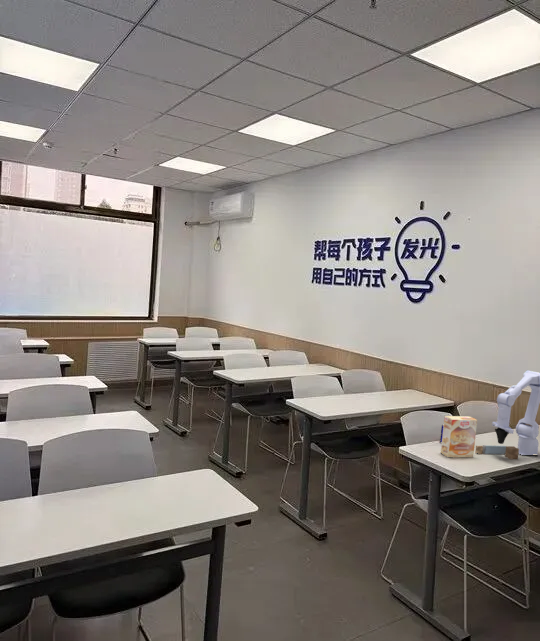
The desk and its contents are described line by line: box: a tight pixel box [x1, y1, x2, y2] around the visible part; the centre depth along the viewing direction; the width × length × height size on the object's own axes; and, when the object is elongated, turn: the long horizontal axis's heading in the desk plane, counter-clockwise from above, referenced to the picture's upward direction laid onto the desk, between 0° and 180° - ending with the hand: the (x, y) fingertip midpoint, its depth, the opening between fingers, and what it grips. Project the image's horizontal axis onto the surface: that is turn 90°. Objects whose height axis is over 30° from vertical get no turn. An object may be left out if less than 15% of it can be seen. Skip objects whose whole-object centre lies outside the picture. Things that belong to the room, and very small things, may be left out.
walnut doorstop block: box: [504, 445, 519, 460], centre depth 265 cm, size 4×4×6 cm
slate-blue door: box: [482, 444, 507, 455], centre depth 270 cm, size 13×1×4 cm, turn 101°
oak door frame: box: [474, 445, 483, 455], centre depth 269 cm, size 18×2×4 cm, turn 101°
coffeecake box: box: [440, 415, 478, 458], centre depth 262 cm, size 15×7×20 cm, turn 105°
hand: (500, 443), depth 263 cm, fingers closed
